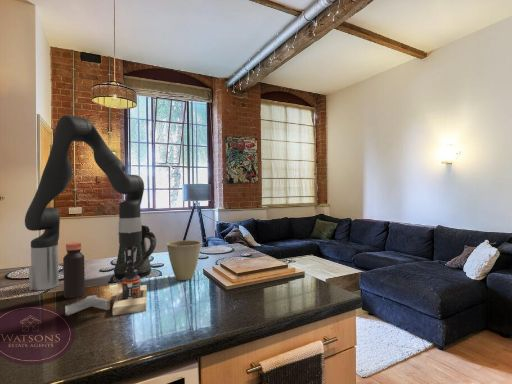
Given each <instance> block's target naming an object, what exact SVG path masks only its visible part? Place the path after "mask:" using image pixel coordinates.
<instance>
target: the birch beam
mask: <svg viewBox="0 0 512 384" xmlns="http://www.w3.org/2000/svg"><path fill="white" fill-rule="evenodd" d="M147 285H148V284H142V285H141V284H140V293H141V294H140V298H135V299H127V300H122V287H118V289H117V294H116V296H115V300H114V302H113V306H112V316H117V315H126V314H133V313H140V312H146V311H147V297H148V296H147V295H148V294H147V293H148V287H147Z"/></svg>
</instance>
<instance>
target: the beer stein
mask: <svg viewBox="0 0 512 384" xmlns="http://www.w3.org/2000/svg"><path fill="white" fill-rule="evenodd" d="M141 226H142V242H141V243H139V244H136V245H135V248H137V257H136V261H135V270H137V274H138V276H140V279H143V278H146V277H148V276H149V275H150V274H151V271H152V265H151V262H150V256H151V255H152V254H153V252H154V251H155V249H156V246H157V238H156V236H155V235H156V234H154V233H153V232H151V231H150V228H149V226H147V225H142V224H141ZM118 235H119V232H118ZM146 239H148V240H149V247H148V248H147V241H146ZM126 248H127V246H126V245H120V244H119V246H118V252H117V259H116V261H115V262H116V263H115V266H114V268H113V273H114V278H115V279H116V280H121V281H122V279H123V278H124V277H125V271H127V268H126V267H125V265H126V262H125V254H124V250H125V249H126ZM128 264H129V262H128Z"/></svg>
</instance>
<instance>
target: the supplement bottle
mask: <svg viewBox="0 0 512 384" xmlns="http://www.w3.org/2000/svg"><path fill="white" fill-rule="evenodd" d="M121 282H122V283H121V285H122V286H121V288H122V299H121V300H127V299H135V298H141V297H140V294H141V293H140V285H141V278H140V276H138V274H137V270H135V269H134V278H133V279H127V271H125V277H124V278H123V279H122V280H121Z"/></svg>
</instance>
